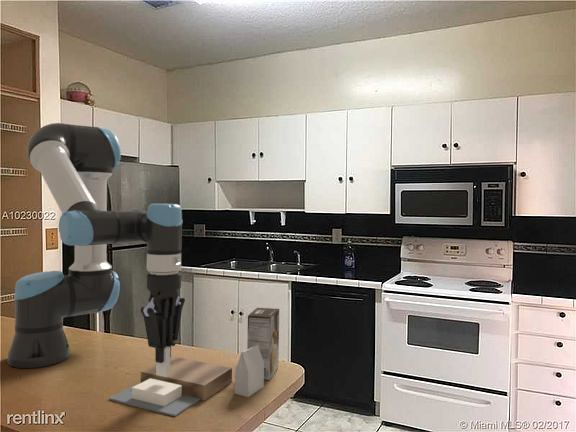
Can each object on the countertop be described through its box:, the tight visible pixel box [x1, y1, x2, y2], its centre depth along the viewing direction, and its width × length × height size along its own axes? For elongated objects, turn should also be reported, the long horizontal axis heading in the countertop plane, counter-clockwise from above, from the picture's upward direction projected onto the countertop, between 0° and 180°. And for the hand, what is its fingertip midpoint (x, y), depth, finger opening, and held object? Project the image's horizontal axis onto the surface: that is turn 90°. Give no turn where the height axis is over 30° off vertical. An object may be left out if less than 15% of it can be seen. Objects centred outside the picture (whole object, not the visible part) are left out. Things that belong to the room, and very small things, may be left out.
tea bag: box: [234, 345, 265, 398], centre depth 111 cm, size 4×7×10 cm, turn 151°
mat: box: [108, 383, 201, 417], centre depth 105 cm, size 18×9×1 cm, turn 66°
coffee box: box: [246, 307, 280, 381], centre depth 122 cm, size 9×6×16 cm
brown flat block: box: [140, 355, 233, 402], centre depth 114 cm, size 18×12×4 cm, turn 66°
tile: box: [131, 378, 182, 406], centre depth 105 cm, size 9×6×2 cm, turn 66°
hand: (163, 374), depth 107 cm, fingers closed
